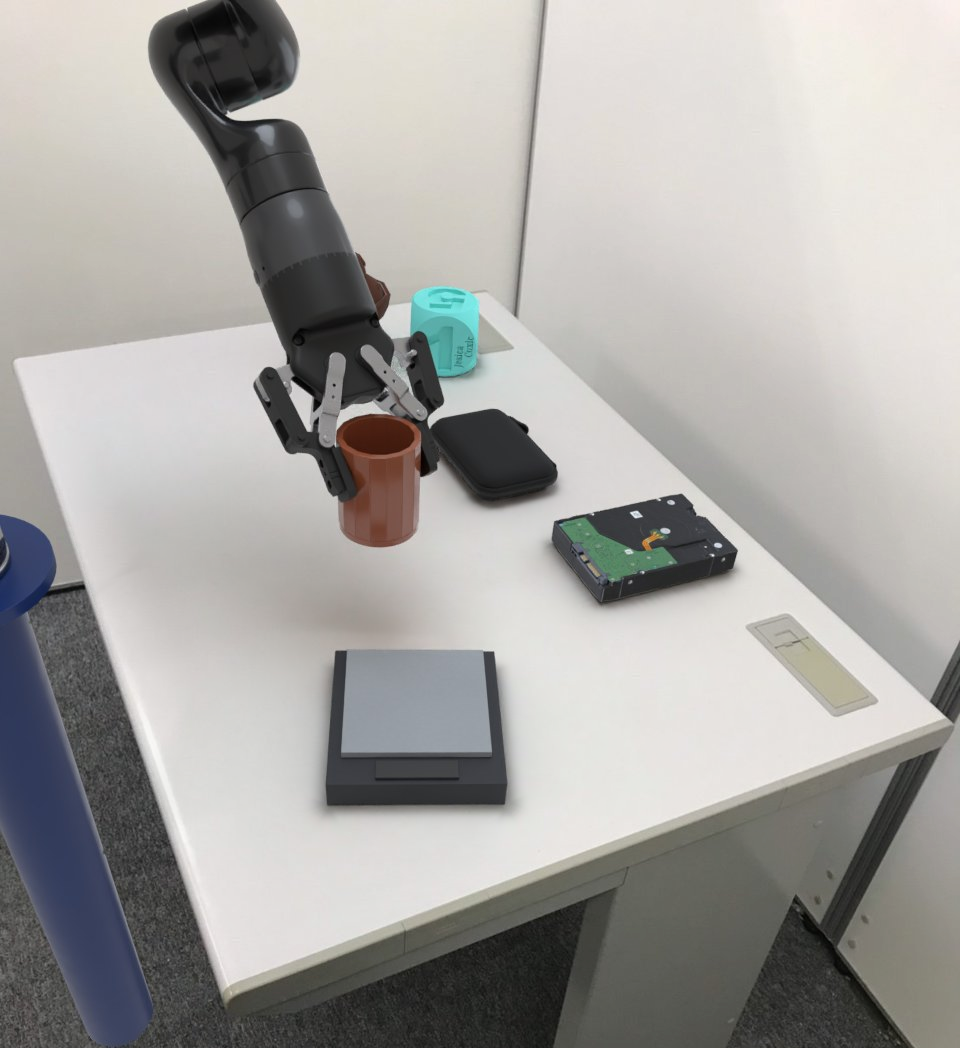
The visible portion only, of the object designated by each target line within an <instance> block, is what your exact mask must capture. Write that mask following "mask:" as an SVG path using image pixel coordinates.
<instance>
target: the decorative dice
mask: <svg viewBox="0 0 960 1048" xmlns="http://www.w3.org/2000/svg"><path fill="white" fill-rule="evenodd" d="M410 303H411V304H410V327H409V329H410V330H409V337H410V336H411V335H413V334H414V333H415V332H416V331H421V332H423V333H424V334H425V335H426V336H427V339H428V343H429V347H430V350H431V354H432V357H433V361H434V364H435V368H436V372H437V375H438V377H442V378H443V377H446V378H447V377H456V376H460V375H464V374H467V373H468V372H469V371H471V370H472V369H474V367H476V365H477V360H478V359H477V358H478V346H479V326H480V325H479V324H480V300H479V299H478V298H477V297H476V296H475V294H473V293H472V292H470V291H468V290H466V289H463V288H459V287H454V286H444V285H443V286H442V285H439V286H430V287H425V288H422V289H420V290H418V291H417V292H416V293H414V294H413V295H412V296H411V302H410Z"/></svg>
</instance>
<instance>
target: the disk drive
mask: <svg viewBox="0 0 960 1048" xmlns="http://www.w3.org/2000/svg"><path fill="white" fill-rule="evenodd" d="M551 542H552V543H553V544H554V546H555V547H556V549H557V551H558V552H559V553H560V555H561V556H562V557H563V558H564V559H565V560H566V562H567V564H568V565H569V566H570V567H571V568H572V569H573V571H574V572H575V573H576V574H577V576H578V577H579V578H580V580H581V581H582V582H583V584H584V585H585V586H586V587H587V588H588V590H589V592H591V593H592V595H593V596H594V597H595V598H596V599H597V600H598V601H599V602H600V603H603V602H611V601H616V600H619V599H623V598H627V597H631V596H636V595H640V594H643V593H647V592H652V591H655V590H659V589H663V588H665V587H666V588H667V587H670V586H674V585H678V584H682V583H686V582H690V581H694V580H700V579H702V578H707V577H710V576H714V575H717V574H722V573H723V572H727V571H729V570H731V571H732V570H733V569H734V565H735V563H736V559H737V555H738V553H739V550H738V548H737V547H736V546H735V545H734V544H733V543H732V542H731V541H730V540H729V539H728V538H726V536H725V535H723V533H722V532H721V531H720V530H719V529H718V528H717V527H716V526H715V525H714V524H713V523H712V522H711V521H710V520H709V518H707V517H706V516H701V515H698V513H697V511H696V510H695V508H694V504H693V503H692V502H691V501H690V500H689V499H688V498H687V496H686V495H684V494H683V493H677V494H669V495H665V496H661V497H658V498H652V499H648V500H645V501H639V502H634V503H630V504H625V505H621V506H616V507H610V508H607V509H606V508H605V509H602V510H597V511H593V512H588V513H584V514H577V515H573V516H570V517H565V518H561V519H560V518H559V519H556V520H554V521H553V525H552V532H551Z"/></svg>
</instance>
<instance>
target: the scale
mask: <svg viewBox="0 0 960 1048" xmlns="http://www.w3.org/2000/svg"><path fill="white" fill-rule="evenodd" d="M496 663H497V662H496V654H495V650H494V651H489V650H487V651H486V650H483V649H393V648H392V649H390V648H389V649H387V648H385V649H381V648H380V649H378V648H377V649H376V648H370V649H368V648H365V649H364V648H348V649H345V650H341V649H339V650H337V649H336V650H335V651H334V662H333V674H332V675H333V676H332V688H331V703H330V715H329V716H330V717H329V718H330V719H329V730H328V732H329V733H328V745H327V757H326V758H327V759H326V760H327V761H326V771H325V796H326V806H329V807H330V806H334V807H335V806H449V805H450V806H452V805H453V806H457V805H460V806H461V805H465V806H466V805H469V806H470V805H474V806H475V805H478V806H479V805H506V799H507V791H508V774H507V765H506V764H507V763H506V754H505V753H506V752H505V744H504V733H503V724H502V716H501V715H502V713H501V703H500V695H499V694H500V693H499V684H498V675H497V674H498V672H497V664H496Z"/></svg>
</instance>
